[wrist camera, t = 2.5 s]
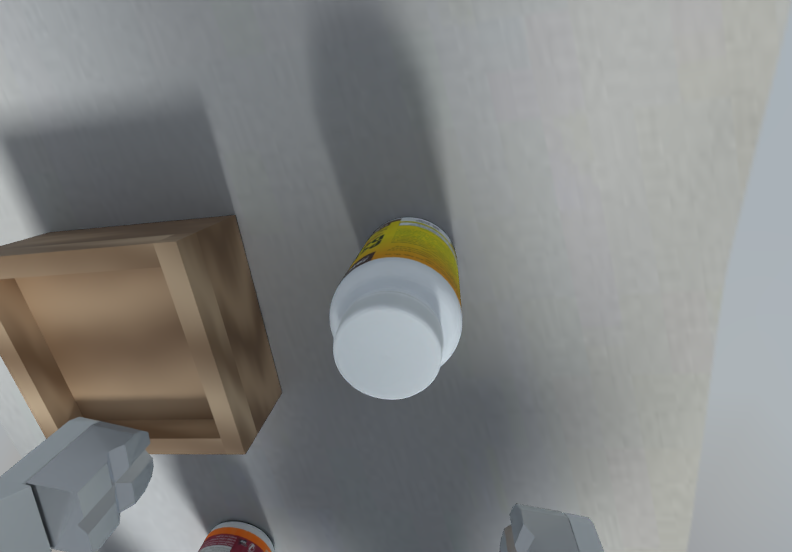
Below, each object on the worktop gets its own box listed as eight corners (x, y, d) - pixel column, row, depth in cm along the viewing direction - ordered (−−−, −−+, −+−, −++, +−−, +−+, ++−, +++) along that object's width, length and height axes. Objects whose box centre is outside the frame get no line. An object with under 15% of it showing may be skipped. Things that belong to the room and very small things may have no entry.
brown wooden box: (281, 392, 28) (245, 454, 23) (122, 396, 30) (54, 453, 25) (235, 214, 23) (175, 241, 18) (49, 232, 25) (-52, 260, 20)
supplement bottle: (386, 198, 22) (344, 254, 13) (474, 241, 22) (497, 328, 13) (349, 278, 24) (289, 380, 15) (430, 317, 24) (421, 440, 15)
